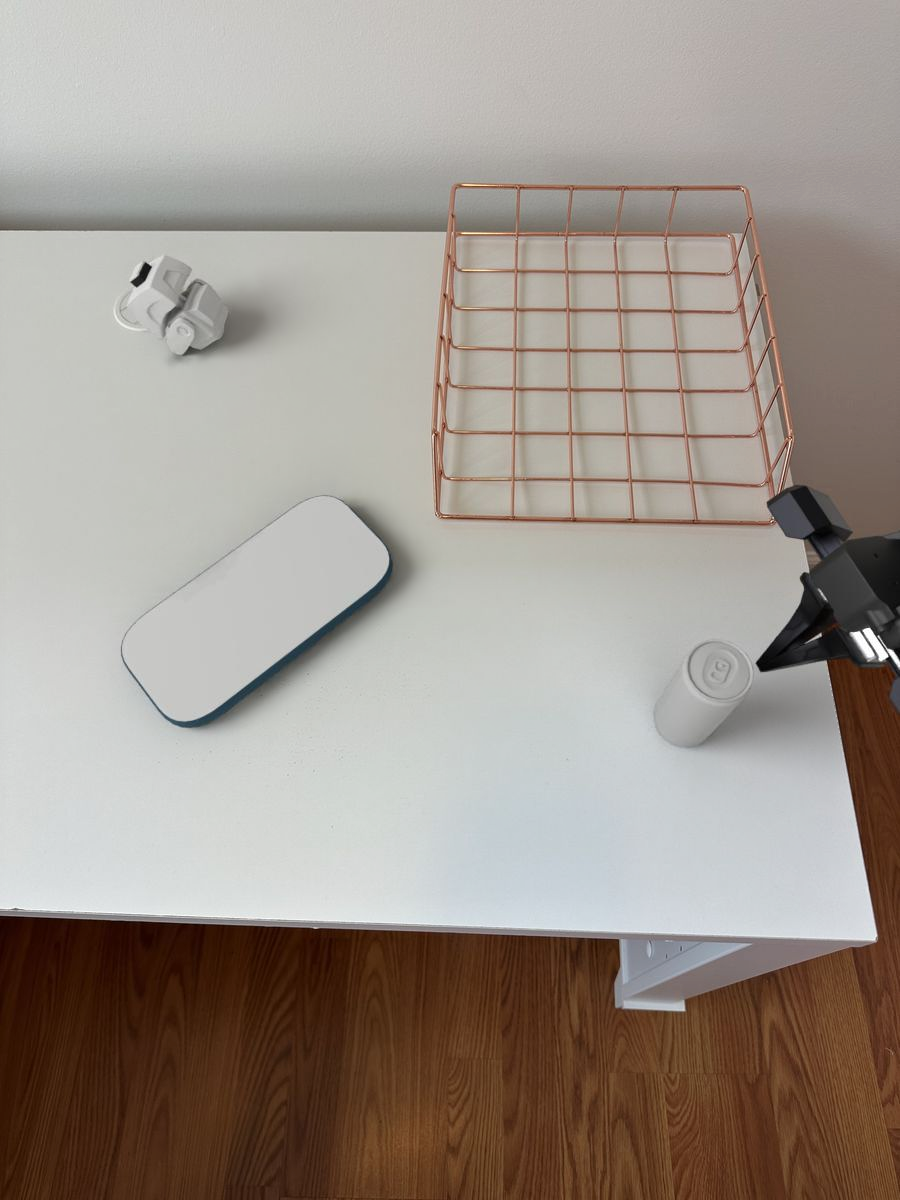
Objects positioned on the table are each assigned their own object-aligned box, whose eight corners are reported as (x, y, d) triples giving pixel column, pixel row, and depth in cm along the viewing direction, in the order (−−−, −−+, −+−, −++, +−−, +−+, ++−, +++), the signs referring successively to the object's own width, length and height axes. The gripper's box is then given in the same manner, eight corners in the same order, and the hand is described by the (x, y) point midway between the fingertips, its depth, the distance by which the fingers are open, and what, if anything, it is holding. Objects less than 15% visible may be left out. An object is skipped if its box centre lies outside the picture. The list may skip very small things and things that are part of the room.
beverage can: (720, 708, 68) (765, 655, 57) (698, 760, 66) (741, 715, 56) (664, 682, 69) (699, 625, 58) (642, 732, 67) (673, 683, 57)
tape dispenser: (212, 326, 90) (129, 263, 84) (247, 303, 85) (161, 234, 79) (194, 369, 87) (107, 308, 81) (229, 347, 83) (140, 280, 77)
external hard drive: (187, 746, 68) (179, 740, 66) (114, 648, 72) (104, 640, 70) (408, 574, 74) (406, 564, 72) (330, 492, 78) (326, 480, 76)
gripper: (845, 406, 51) (646, 552, 59) (1042, 677, 43) (782, 799, 52) (897, 443, 59) (716, 567, 67) (1072, 676, 51) (843, 782, 60)
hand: (759, 667), depth 61 cm, fingers closed
